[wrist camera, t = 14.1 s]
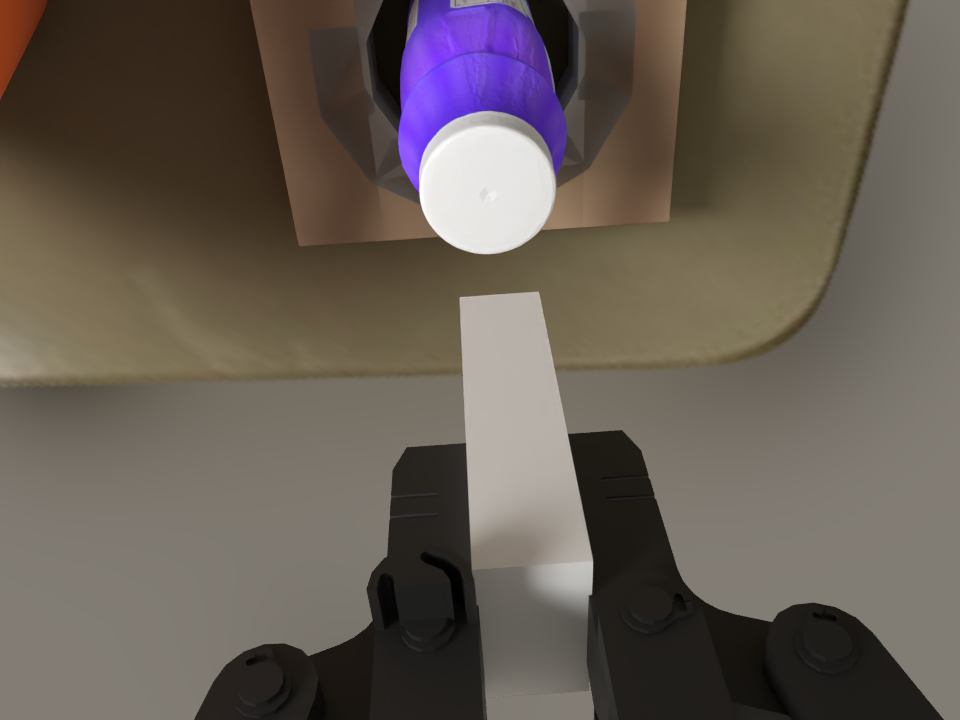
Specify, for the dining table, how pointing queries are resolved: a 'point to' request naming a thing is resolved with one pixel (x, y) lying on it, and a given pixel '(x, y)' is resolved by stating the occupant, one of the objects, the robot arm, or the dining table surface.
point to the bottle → (480, 121)
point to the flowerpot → (16, 33)
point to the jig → (376, 116)
